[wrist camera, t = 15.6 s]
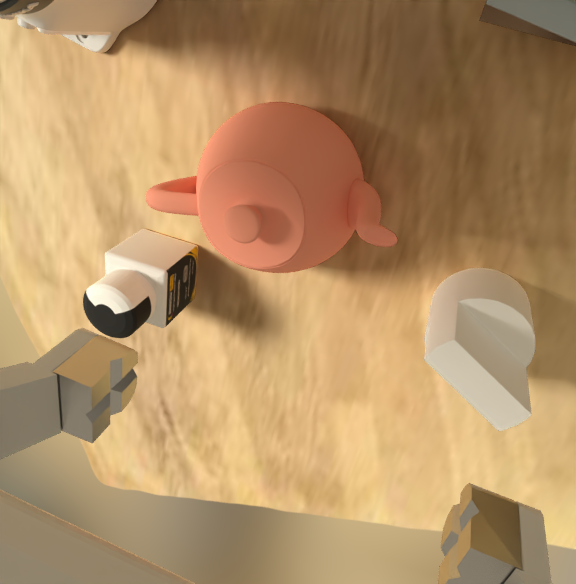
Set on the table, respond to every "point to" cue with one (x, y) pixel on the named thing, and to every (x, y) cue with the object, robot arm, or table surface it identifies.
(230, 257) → the teapot
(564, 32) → the top block
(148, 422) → the table surface
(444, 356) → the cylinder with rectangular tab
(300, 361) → the table surface
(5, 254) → the table surface
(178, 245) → the white bottle
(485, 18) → the bottom block
